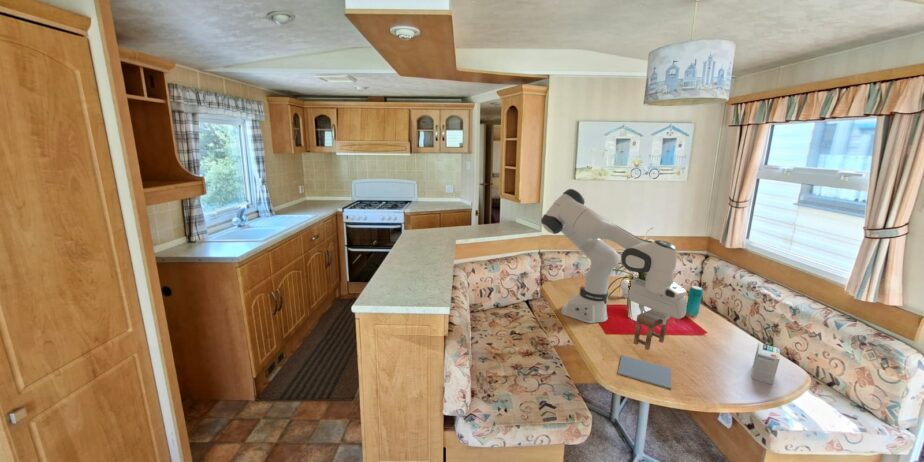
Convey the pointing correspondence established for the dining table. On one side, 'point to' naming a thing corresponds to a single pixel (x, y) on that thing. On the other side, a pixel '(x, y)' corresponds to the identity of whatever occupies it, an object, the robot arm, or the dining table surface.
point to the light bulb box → (765, 363)
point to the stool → (650, 327)
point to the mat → (645, 371)
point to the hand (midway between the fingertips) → (652, 319)
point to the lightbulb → (624, 287)
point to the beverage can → (694, 300)
